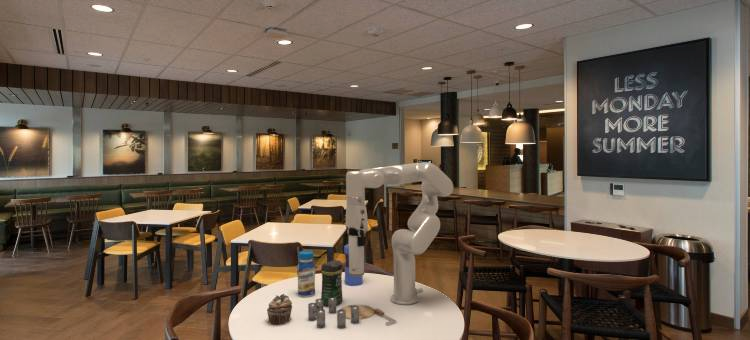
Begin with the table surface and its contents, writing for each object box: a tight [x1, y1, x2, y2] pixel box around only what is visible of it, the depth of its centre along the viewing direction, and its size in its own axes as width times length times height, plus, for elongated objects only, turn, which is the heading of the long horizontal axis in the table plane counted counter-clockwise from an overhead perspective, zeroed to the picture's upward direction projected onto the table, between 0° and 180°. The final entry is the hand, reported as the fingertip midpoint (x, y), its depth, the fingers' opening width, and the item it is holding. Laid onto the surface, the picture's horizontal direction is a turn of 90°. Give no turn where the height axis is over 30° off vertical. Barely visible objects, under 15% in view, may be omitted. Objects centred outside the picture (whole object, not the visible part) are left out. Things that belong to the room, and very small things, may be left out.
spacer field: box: [307, 297, 360, 330], centre depth 157 cm, size 16×19×6 cm
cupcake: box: [266, 293, 293, 326], centre depth 156 cm, size 10×10×10 cm
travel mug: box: [348, 227, 365, 277], centre depth 164 cm, size 6×7×20 cm
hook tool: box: [373, 308, 397, 326], centre depth 158 cm, size 13×5×2 cm, turn 36°
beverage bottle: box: [296, 250, 316, 298], centre depth 186 cm, size 8×8×20 cm
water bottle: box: [343, 243, 364, 287], centre depth 203 cm, size 9×9×25 cm
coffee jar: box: [320, 259, 343, 307], centre depth 175 cm, size 10×8×19 cm
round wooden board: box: [339, 304, 375, 320], centre depth 165 cm, size 15×15×1 cm
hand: (356, 244), depth 164 cm, fingers closed on travel mug, 6 cm apart
